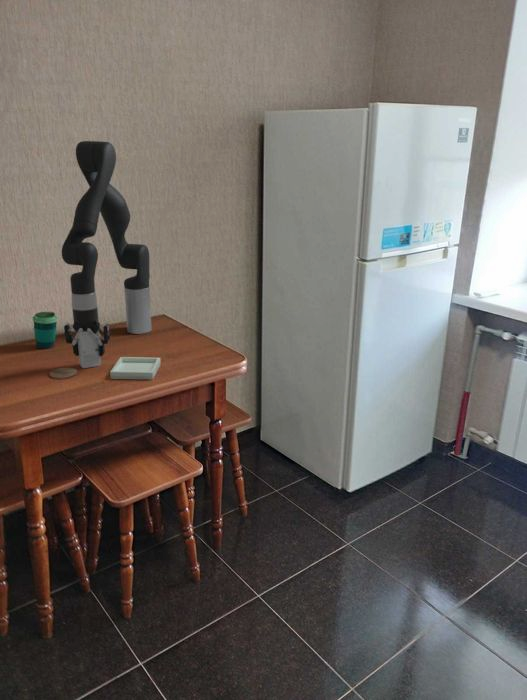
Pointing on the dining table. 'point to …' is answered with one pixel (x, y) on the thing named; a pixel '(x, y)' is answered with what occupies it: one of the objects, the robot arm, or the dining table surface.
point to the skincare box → (88, 350)
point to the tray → (135, 368)
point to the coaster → (63, 373)
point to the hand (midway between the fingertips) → (89, 355)
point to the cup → (45, 329)
